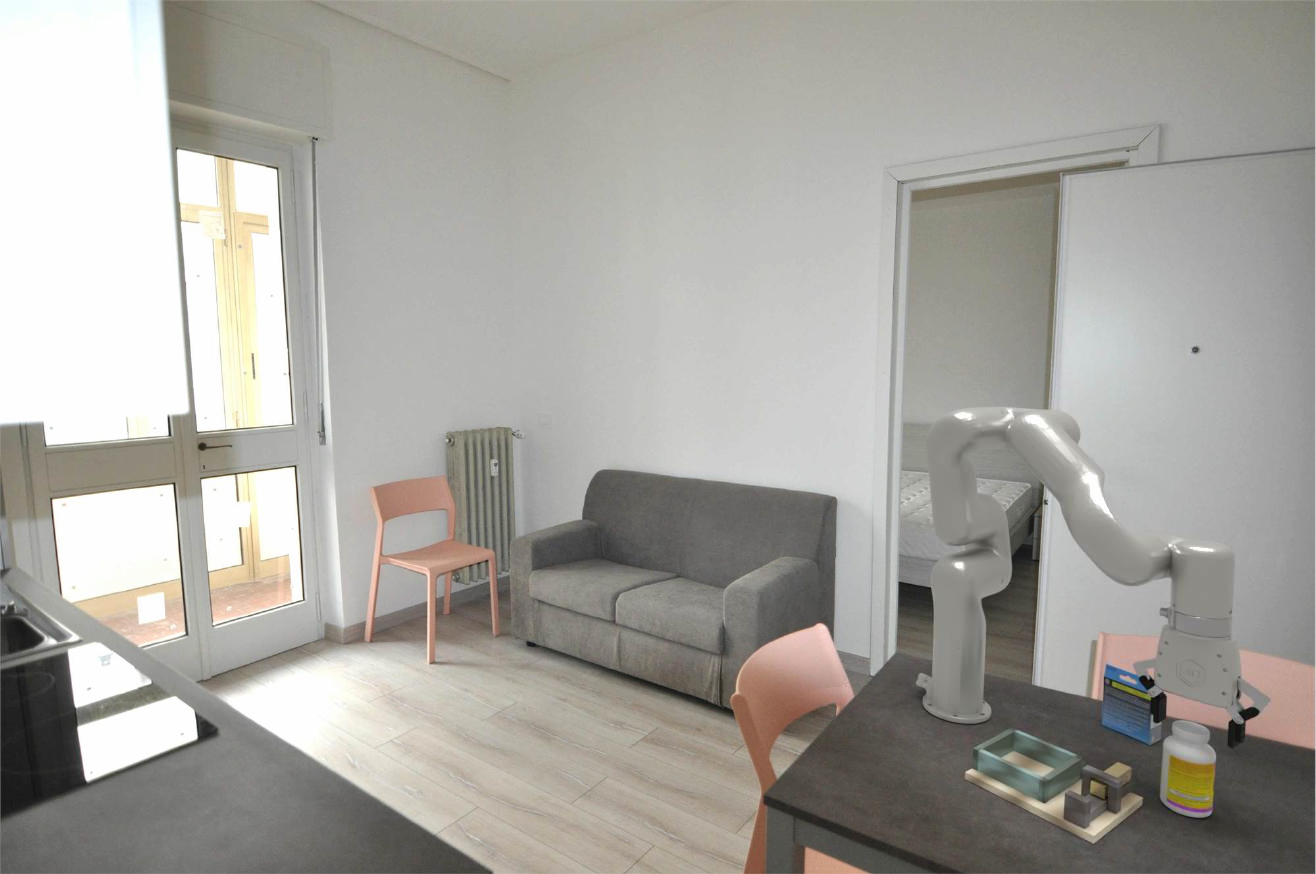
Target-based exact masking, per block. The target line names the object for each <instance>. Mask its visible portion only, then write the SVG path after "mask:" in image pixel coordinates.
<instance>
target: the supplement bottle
mask: <svg viewBox="0 0 1316 874" xmlns="http://www.w3.org/2000/svg"><path fill="white" fill-rule="evenodd" d="M1171 731H1172V732H1171V733H1172V735H1169V736H1167V737H1165V739H1164V740H1163V743H1162V759H1161V768H1160V769H1161V770H1160V781H1159V782H1160V786H1159V799H1160V801H1161V802H1162V803H1163V804H1164V805H1165V807H1167V808H1168V809H1170V810H1171V811H1173V812H1175V813H1177V814H1180V815H1183V816H1186V817H1191V818H1197V819H1199V818H1207V817H1209V816H1210V815H1211V814H1213V806H1214V795H1215V794H1214V793H1215V791H1214V790H1215V781H1216V780H1215V778H1216V766H1217V754H1216V752H1215V749H1214V748H1213V747H1212V746H1211V745H1210V744H1209V741H1210V740H1211V739H1210V737H1211V732H1210V729H1208V728H1207V727H1205V726H1204V725H1202V724H1198V722H1197V723H1196V722H1194V721H1189V720H1184V719H1183V720H1179V719H1178V720H1174V721H1172V725H1171Z"/></svg>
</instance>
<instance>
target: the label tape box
mask: <svg viewBox="0 0 1316 874" xmlns="http://www.w3.org/2000/svg"><path fill="white" fill-rule="evenodd" d="M1121 677H1125V678H1126V677H1128V678H1129V679H1131V680H1133V681H1134V682H1135V683H1133V682H1131V681H1129V680H1127V679H1123V678H1121ZM1102 686H1103V688H1102V689H1103V691H1102V706H1101V707H1102V710H1101V725H1102V726H1104V727H1106V728H1108V729H1111V730H1113V731H1116V732H1118V733H1120V734H1123V735H1126V736H1129V737H1131V738H1132V739H1134V740H1137V741H1139V742H1142V743H1144V744H1147V745H1149V746H1151V745H1154V744H1156V743H1157V742H1159V741H1160V740H1162V739H1161V736H1162V722H1160V723H1154V722H1153V715H1152V714H1151V713H1150V707H1151V697H1150V696H1149V695H1148V693H1147V692H1148V691H1147V690H1146V689H1145V687H1144V686H1143V685H1142V684H1141V683H1140V681H1139V677H1138V676H1137V674H1136V673H1134V672H1131V671H1128V670H1126V669H1123V668H1121V667H1120V668H1119V667H1117V666H1115V665H1112V664H1109V663H1107V662H1106V663H1105V669H1104V674H1103V685H1102Z"/></svg>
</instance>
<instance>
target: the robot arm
mask: <svg viewBox="0 0 1316 874" xmlns="http://www.w3.org/2000/svg"><path fill="white" fill-rule="evenodd" d="M1074 418H1075V417H1073V416H1071V415H1070V414H1069V413H1068V412H1067V413H1066V412H1065V411H1061V410H1058V409H1042V408H1041V409H1037V408H1024V407H1023V408H1022V407H1010V406H982V407H981V406H979V407H966V408H959V409H955V410H952V411H949V412H946V413H945V414H943V415H941V416H940V417H939V418H937V419H936V420H935V421H934V422H933V423H932V425H931V426H930V428H929V429H928V432H927V434H926V437H925V444H924V446H925V447H924V450H925V457H926V464H927V470H928V475H929V488H930V489H929V490H930V500H931V503H930V504H931V512H932V523H933V529H934V533H935V536H936V537H937V540H939V541H940V542H941V543H942V544H944V545H946V546H949V547H961V546H964V550H961V551H957V552H954V553H950V554H947V555H945V556H943V557H941V558H940V559H939V560H938V561H936V562H935V564H934V565H933V567H932V570H931V572H930V579H929V580H930V587H931V595H932V601H933V641H932V663H931V665H932V667H931V669H932V670H931V671H932V672H931V676H930V675H928V674H925V673H922V672H920V673H918V676H917V680H916V682H915V685H916V686H917V687H919V688H922V689H924V690H925V691H926V694H924V696H923V697H922V705H923V708H925V710H926V711H928V713H930V714H931V715H932V716H935V717H936V718H939V719H942V720H945V721H949V722H952V723H958V724H964V725H965V724H968V725H970V724H972V725H973V724H980V723H983V722H986V721H988V720H989V719H990V718H991V716H992V707H991V705H990V704H989V703H988V702H987V701H986V700H984V687H985V665H986V643H987V641H986V640H987V621H986V616H985V612H984V609H983V606H982V599H984V598H986V597H989V596H992V595H995V594H997V593H1000V592H1001V591H1003V590H1004V589H1006V588H1007V586H1009V583H1010V582H1011V580H1012V573H1013V564H1012V552H1011V551H1012V550H1011V541H1010V531H1009V521H1008V517H1007V513H1006V511H1005V509H1004V506H1003V505H1002V504H1001V503H1000V502H999V500H997V499H996V498H995V497H993V496H992V495H989V494H987V493H981V492H980V493H979V492H978V485H977V482H978V481H977V474H976V471H975V469H974V467H973V464H972V462H971V460H970V457H969V455H971V454H972V453H979V452H988V451H997V450H998V451H999V450H1001V451H1011V452H1012V451H1013V453H1014V454H1015V455H1016V456H1017V457H1018V458H1019V460H1020V461H1022V463H1024V465H1025V466H1026V467H1027V469H1028V470H1030V471H1031V473H1032V474H1033V475H1034V476H1035V477H1036V478H1037V479H1038V480H1039V481H1040V482H1041V483H1042V484H1041V485H1043V486H1044V487H1045V488H1046V489H1047V490H1048V492H1049V493H1050V494H1051V495H1052V496H1053V497H1054V498H1055V499H1056V500H1057V502H1058V503H1059V504H1058V505H1059V506H1060V510H1061V511H1060V512H1061V514H1062V517H1063V519H1064V521H1065V524H1066V526H1067V528H1068V529H1067V530H1068V531H1069V533H1070V535H1071V536H1072V538H1073V540H1074V542H1075V543H1076V544H1077V546H1078V547H1079V548H1080V549H1081V550H1082V552H1084V554H1085V555H1086V556H1087V558H1089V559H1090V561H1091V562H1092V563H1093V564H1094V565H1095V566H1096V567H1097V569H1099V570H1100V572H1101V573H1103V574H1104V575H1105V576H1107V578H1109V579H1110V580H1112V581H1114V582H1115V583H1117V584H1119V585H1123V586H1126V587H1139V586H1144V585H1147V584H1149V583H1151V582H1153V581H1157V580H1163V579H1171V580H1170V582H1171V583H1170V606H1169V607H1164V606H1163V607H1162V606H1161V607H1160V609H1159V616H1161V617H1165V618H1166V619H1167V624H1164V625H1163V626H1162V629H1161V631H1160V635H1159V639H1158V642H1157V643H1158V645H1157V650H1156V655H1155V658H1148V659H1142V660H1138V661H1135V662H1133V664H1132V667H1133V669H1134V671H1135V674H1137V676H1138V677H1139V681H1140V683H1141V684H1142V685H1143V686H1144V687H1145V689H1146V690H1147V691H1148V692H1147V693H1148V695H1149V696H1150V697H1151V707H1150V713H1151V714H1152V715H1153V722H1154V723H1160V722H1161V723H1162V722H1163V721H1164V720H1166V718H1167V707H1168V706H1167V704H1168V696H1167V694H1166V693H1168V694H1172V695H1175V696H1178V697H1181V698H1183V699H1184V698H1185V699H1186V700H1187V699H1188V700H1191V701H1195V702H1198V703H1202V704H1205V705H1207V706H1208V705H1209V706H1212V707H1216V708H1220V709H1224V710H1225V711H1226V712H1227V713H1228V714H1229V716H1230V717H1231V720H1229V721H1228V724H1227V725H1228V726H1227V742H1226V743H1227V747H1228V748H1230V749H1232V750H1235V748H1237V747H1238V746H1239V745H1240V744H1243V743H1245V741H1246V728H1247V727H1246V726H1247V725H1246V723H1247V722H1248V721H1249V720H1251V719H1254V718H1256V717H1258V716H1259V715H1260V714H1261V713H1262V712H1263V711H1264V710H1265V709H1266V708H1267V707H1268V705H1269V704H1270V703H1271V702H1272V699H1271V698H1270V697H1269V696H1268V695H1266V694H1265V693H1263V692H1262V691H1261V690H1259V689H1258V688H1257V687H1255V686H1253V685H1251V684H1250V683H1249V682H1248V681H1246V680H1245V679H1243V675H1242V662H1241V660H1242V659H1241V654H1240V648H1239V644H1238V639H1237V637H1236V636H1234V635H1233V634H1232V632H1233V629H1232V628H1233V605H1234V591H1235V590H1234V587H1235V571H1236V570H1235V567H1236V566H1235V565H1236V555H1235V552H1234V550H1233V549H1232V548H1231V547H1230V546H1228V545H1227V544H1224V543H1221V542H1216V541H1211V540H1202V539H1189V538H1186V537H1181V536H1177V535H1173V534H1171V533H1168V532H1167V533H1166V532H1163V531H1158V530H1144V531H1143V530H1142V531H1139V532H1136V533H1132V534H1131V533H1130V531H1128V530H1127V529H1126V527H1125V526H1124V525H1123V524H1122V523H1121V522H1120V521H1119V520H1118V518H1116V516H1115V515H1114V514H1113V513H1112V511H1111V509H1110V508H1109V506H1108V504H1107V502H1106V500H1105V496H1104V487H1105V486H1104V485H1105V480H1106V479H1105V477H1106V476H1105V472H1104V470H1103V469H1102V468H1101V467H1100V466H1099V464H1097V463H1096V461H1095V460H1093V458H1092V457H1090V456H1089V455H1088V454H1087V453H1086V451H1085V450H1084V449H1082V447H1081V446H1079V445H1078V444H1079V443H1080V440H1081V428H1080V426H1079V424H1078V422H1077V420H1076V419H1074ZM1150 669H1153V670H1154V671H1153V677H1152V676H1151V675H1150V674H1149V672H1148V670H1150ZM1242 694H1244V695H1245V696H1246V697H1249V698H1250V699H1251V700H1252V701H1253V704H1252V705H1251V706H1249V707H1247V708H1246V707H1245V706H1244V705H1243V703H1242V702H1241V701H1240V700H1241V698H1242Z"/></svg>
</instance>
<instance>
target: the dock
mask: <svg viewBox="0 0 1316 874" xmlns="http://www.w3.org/2000/svg"><path fill="white" fill-rule="evenodd" d="M1084 759H1085V758H1084V757H1083V756H1080V755H1079V754H1076V753H1073V752H1072V751H1069V750H1066V749H1064V748H1062V747H1059V746H1057V745H1055V744H1052V743H1051V742H1049V741H1048V742H1047V741H1045V740H1042V739H1041V738H1038V737H1035V736H1033V735H1031V734H1029V733H1026V732H1024V731H1021V730H1018V729H1017V728H1014V727H1010V728H1009V729H1006V730H1005V731H1003V732H1001V733H999V734H997V735H995V736H993V737H992V738H990V739H987V740H986V741H983V742H982V743H980V744H979V745H976V746H975V747H973V748H972V765H971V768H970V769H969V770H966V771H965V773H964V780H966V781H968V782H970V783H972V784H974V785H976V786H978V787H979V788H982V789H984V790H985V791H987V792H989V793H992V794H994V795H996V796H998V797H999V798H1002V799H1003V800H1005V801H1007V802H1010V803H1012V804H1014V805H1015V806H1018V807H1020V808H1021V809H1023V810H1026V811H1027V812H1030V813H1031V814H1033V815H1035V816H1038V817H1039V818H1041V819H1043V820H1045V821H1047V822H1050V823H1051V824H1053V825H1055V826H1057V827H1058V828H1061V829H1063V830H1065V831H1067V832H1069V833H1071V834H1073V835H1075V836H1077V837H1079V838H1081V839H1082V840H1085V841H1087V842H1089V843H1091V844H1093V845H1094V844H1095V843H1097V842H1098V841H1100V840H1101V839H1102V838H1103V837H1104V836H1105V835H1107V834H1108V833H1109V832H1111V831H1112V830H1113V829H1115V828H1116V827H1117V826H1118V825H1119V824H1121V822H1123V821H1124V820H1125V819H1127V818H1128V817H1130V815H1132V814H1133V813H1134V812H1136V811H1137V810H1138V809H1139V808H1141V807H1142V806H1143V800H1144V797H1142V796H1140V795H1138V794H1136V793H1134V792H1131V784H1132V783H1131V782H1130V781H1128V782H1127V783H1126V784H1124V785H1123V786H1122V783H1123V780H1122V779H1120V778H1117V777H1115V776H1113V775H1110V774H1108V773H1105V772H1104V771H1103V770H1100V769H1098V768H1096V767H1093V766H1091V765H1089V764H1087V765H1085V766H1084ZM1094 778H1095V779H1097V780H1099V781H1102V782H1104V783H1106V784H1108V785H1109V790H1108V797H1107V798H1105V799H1103V798H1100V797H1098V796H1096V795H1094V794H1091V793H1090V787H1091V780H1092V779H1094Z"/></svg>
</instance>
